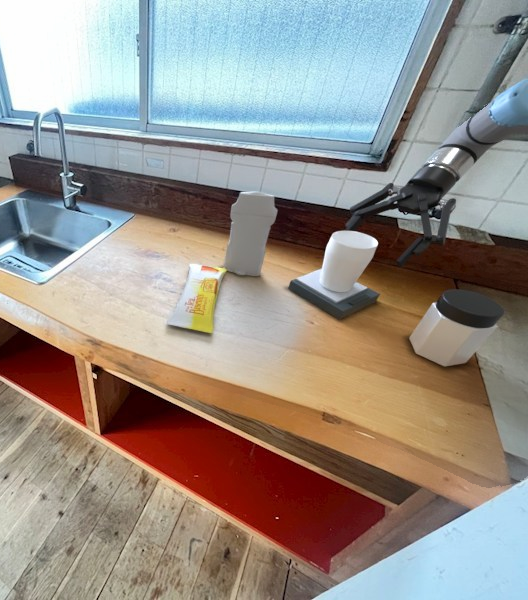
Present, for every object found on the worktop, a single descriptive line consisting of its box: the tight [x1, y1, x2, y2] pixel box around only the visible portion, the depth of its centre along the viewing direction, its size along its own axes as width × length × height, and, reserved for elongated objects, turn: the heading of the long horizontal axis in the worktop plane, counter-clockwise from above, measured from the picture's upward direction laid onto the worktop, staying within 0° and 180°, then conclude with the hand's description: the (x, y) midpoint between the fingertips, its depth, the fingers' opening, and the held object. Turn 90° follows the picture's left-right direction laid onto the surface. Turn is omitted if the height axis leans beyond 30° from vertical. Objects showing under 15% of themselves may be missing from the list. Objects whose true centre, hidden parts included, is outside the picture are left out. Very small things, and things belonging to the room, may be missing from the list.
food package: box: [166, 263, 227, 334], centre depth 79 cm, size 27×2×10 cm
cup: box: [320, 230, 379, 292], centre depth 73 cm, size 9×9×12 cm
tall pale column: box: [222, 191, 279, 277], centre depth 82 cm, size 11×4×22 cm, turn 66°
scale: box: [288, 268, 381, 320], centre depth 78 cm, size 14×13×3 cm
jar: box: [408, 288, 505, 367], centre depth 59 cm, size 9×8×12 cm
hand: (367, 251), depth 75 cm, fingers open, 13 cm apart
